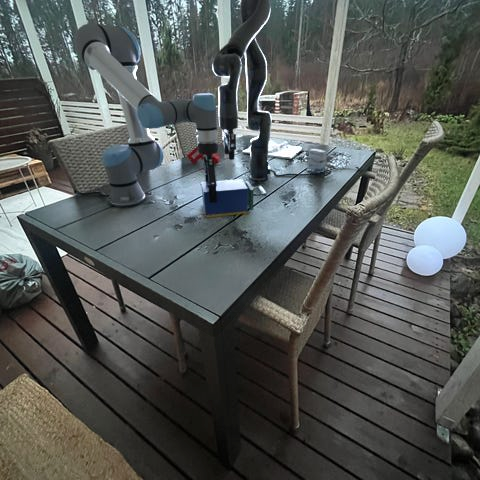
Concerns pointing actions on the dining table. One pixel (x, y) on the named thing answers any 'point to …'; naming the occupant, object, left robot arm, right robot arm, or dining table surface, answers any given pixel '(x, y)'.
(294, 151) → the relief map
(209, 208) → the cabinet
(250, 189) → the drawer
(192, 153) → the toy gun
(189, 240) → the dining table surface
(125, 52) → the left robot arm
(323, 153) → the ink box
